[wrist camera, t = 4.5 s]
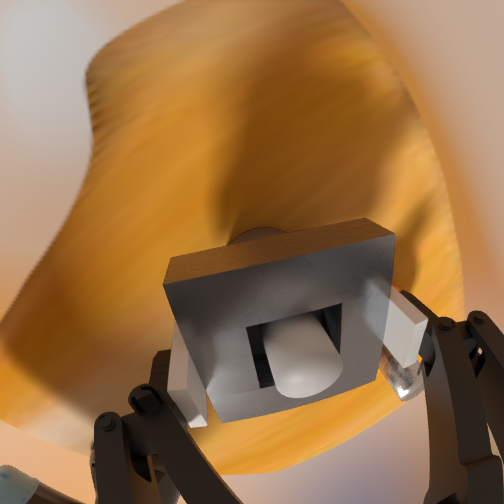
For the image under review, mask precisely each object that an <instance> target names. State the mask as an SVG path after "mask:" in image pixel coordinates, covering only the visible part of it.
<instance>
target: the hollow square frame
mask: <svg viewBox="0 0 504 504" xmlns="http://www.w3.org/2000/svg"><path fill="white" fill-rule="evenodd" d="M394 248H395V233H393V232H391V231H389V230H388V229H386V228H384V227H382V226H380V225H378V224H376V223H375V222H373V221H371V220H369V219H367V218H362V219H357V220H352V221H346V222H341V223H336V224H331V225H326V226H321V227H316V228H311V229H306V230H301V231H296V232H291V233H286V234H281V235H276V236H271V237H266V238H261V239H257V240H252V241H247V242H242V243H237V244H233V245H228V246H223V247H218V248H213V249H209V250H204V251H199V252H195V253H190V254H185V255H181V256H176V257H171V258H170V262H169V265H168V268H167V271H166V275H165V278H164V282H163V287H164V290H165V293H166V295H167V298H168V301H169V304H170V306H171V309H172V312H173V315H174V317H175V320H176V322H177V325H178V328H179V330H180V333H181V335H182V338H183V340H184V343H185V345H186V347H187V350H188V351H189V354H190V356H191V358H192V361H193V363H194V365H195V368H196V370H197V372H198V374H199V377H200V379H201V381H202V383H203V385H204V388H205V390H206V392H207V395H208V397H209V399H210V401H211V403H212V405H213V407H214V409H215V411H216V413H217V415H218V417H219V419H220V421H221V423H225V422H231V421H237V420H243V419H248V418H253V417H258V416H263V415H267V414H272V413H276V412H280V411H284V410H288V409H292V408H296V407H299V406H303V405H306V404H310V403H313V402H316V401H320V400H323V399H326V398H329V397H332V396H335V395H338V394H341V393H344V392H346V391H349V390H352V389H355V388H357V387H360V386H362V385H365V384H367V383H370V382H372V381H375V378H376V374H377V370H378V366H379V361H380V356H381V351H382V346H383V340H384V334H385V328H386V322H387V316H388V308H389V301H390V295H391V286H392V276H393V264H394ZM321 308H322V324H323V328H324V330H325V332H326V333H327V335H328V337H329V338H330V340H331V342H332V343H333V345H334V347H335V348H336V350H337V352H338V353H339V355H340V357H341V358H342V360H343V369H342V372H341V374H340V376H339V377H338V379H337V380H336V381H335V382H334V383H333V384H332V385H331V386H329V387H328V388H327V389H325V390H323V391H321V392H319V393H317V394H315V395H312V396H308V397H303V398H291V397H287V396H284V395H282V394H281V393H280V392H279V391H278V390H277V388H276V385H275V381H274V378H273V375H272V371H271V368H270V365H269V361H268V358H267V354H266V353H265V354H261V355H256V356H252V352H251V348H250V343H249V339H248V335H247V330H246V327H248V326H253V325H257V324H262V323H266V322H270V321H275V320H279V319H283V318H287V317H291V316H295V315H299V314H303V313H307V312H310V311H314V310H318V309H321Z"/></svg>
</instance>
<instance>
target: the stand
mask: <svg viewBox="0 0 504 504" xmlns="http://www.w3.org/2000/svg"><path fill="white" fill-rule="evenodd" d="M281 234H286V232H284V231H282V230H279V229H275V228H256V229H252V230H249V231H247V232H244V233H243V234H241V235H239V236H238V237H237V238H235V239H234V240H233V241H232V242H231V243H230V244H229V245H233V244H237V243H242V242H247V241H252V240H257V239H261V238H266V237H271V236H276V235H281ZM246 330H247V335H248V339H249V343H250V348H251V352H252V356H256V355H261V354H265V353H266V354H267V358H268V361H269V365H270V368H271V371H272V375H273V378H274V381H275V385H276V388H277V390H278V391H279V392H280V393H281V394H282V395H284V396H287V397H291V398H303V397H308V396H312V395H315V394H317V393H319V392H321V391H323V390H325V389H327V388H328V387H329V386H331V385H332V384H333V383H334V382H335V381H336V380H337V379H338V377H339V376H340V374H341V372H342V369H343V360H342V358H341V357H340V355H339V353H338V352H337V350H336V348H335V347H334V345H333V343H332V342H331V340H330V338H329V337H328V335H327V333H326V332H325V330H324V328H323V324H322V308H321V309H318V310H314V311H310V312H307V313H303V314H299V315H295V316H291V317H287V318H283V319H279V320H275V321H270V322H266V323H262V324H257V325H253V326H248V327H246Z"/></svg>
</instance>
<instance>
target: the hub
mask: <svg viewBox="0 0 504 504" xmlns="http://www.w3.org/2000/svg"><path fill="white" fill-rule="evenodd" d="M392 286H393V287H394V288H395V289H396V290H397V291H398V292H399V291H401V290H400V289H399V288H398V287H397V286H396V285H394V284H393V283H392ZM419 366H420V363H419V362H418V360H417V359H416V363H414V364H412V365H410V366H408V367H406V368H402V366H401V365H400V364H399V362H398V361H397V360H396V359H395V357H394V356H393V355H392V353H391V352H390V351H389V350H388V348H387V347H386V346H385V345H384V343H383V346H382V351H381V356H380V361H379V366H378V368H379V369H380V371H381V372H382V374H383V375H384V376H385V378H386V379H387V381H388V382H389V384H390V385H391V387H392V388H393V390H394V391H395V392H396V394H397V395H398V397H399V398H400V400H401V401H408V400H410V399H412V398H414V397H415V396H417V395H418V394H419V393H420V392H422V391H423V390H424V382H423V376H422V370H421V372H420V374H419V376H417V372H418V369H419Z"/></svg>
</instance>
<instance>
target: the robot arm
mask: <svg viewBox="0 0 504 504" xmlns="http://www.w3.org/2000/svg"><path fill="white" fill-rule="evenodd" d="M383 343H384V345H385V346H386V347H387V348H388V350H389V351H390V352H391V353H392V355H393V356H394V357H395V359H396V360H397V361H398V362H399V364H400V365H401V366H402V368H406V367H408V366H410V365H412V364H414V363H416V359H417V356H418V354H419V355H420V356H421V357H422V361H421V364H420V366H419V369H418V372H417V376H419V374H420V372H421V370H422V376H423V382H424V389H425V397H426V405H427V415H428V426H429V446H430V483H429V489H428V491H427V493H426V495H425V499H424V503H423V504H504V485H503V469H502V461H501V458H502V460H503V464H504V335H503V333H502V332H501V331H500V330H499V328H498V327H497V326H496V325H495V324H494V322H493V321H492V320H491V319H490V318H489V316H487V314H485V313H484V312H482V311H472V312H470V313H469V315H468V318H467V320H466V321H461V322H455V321H454V320H453V319H451V318H448V317H438V316H437V315H435V314H434V313H433V312H432V311H431V310H430V309H429V308H428V307H426V306H425V305H424V304H422V302H421V301H419V300H418V299H417V298H416V297H415V296H414V295H412V294H411V293H409V292H406V291H404V290H402V291H399V292H398V291H397V290H396V289H395V288H394V287H393V286H391V295H390V301H389V308H388V316H387V322H386V328H385V334H384V340H383ZM479 348H481V350H482V354H479V352H478V350H479ZM128 400H129V404H130V405H131V407H132V408H133V409H134V411H135V412H134V413H132V414H128V415H125V416H122V417H120V416H119V415H118V414H117V413H114V412H106V413H103V414H101V415H100V416H99V417H98V418H97V419H96V421H95V425H94V448H93V449H92V451H91V455H90V467H91V474H92V479H93V483H94V488H95V492H96V501H95V504H177V502H178V499H179V496H180V494H181V496H182V497H183V499H184V500H185V501H186V503H187V504H243V503H242V501H241V500H240V499H239V498H238V497H237V496H236V495H235V493H234V492H233V491H232V490H231V489H230V488H229V486H228V485H227V484H226V483H225V482H224V480H223V479H222V478H221V477H220V475H219V474H218V473H217V471H216V470H215V469H214V468H213V466H212V465H211V464H210V462H209V461H208V460H207V458H206V457H205V456H204V454H203V453H202V451H201V450H200V449H199V447H198V446H197V444H196V443H195V441H194V440H193V438H192V437H191V436H190V434H189V433H188V431H187V423H188V424H189V426H190V427H191V428H193V427H202V426H208V419H207V402H206V390H205V388H204V385H203V383H202V381H201V379H200V377H199V374H198V372H197V370H196V368H195V365H194V363H193V361H192V358H191V356H190V354H189V351H188V350H187V347H186V345H185V343H184V340H183V338H182V335H181V333H180V330H179V328H178V325H177V322H176V320H175V326H174V334H173V341H172V349H170V350H163V351H158V353H157V354H156V356H155V357H154V358H153V363H152V369H151V375H150V380H149V384H142V385H139V386H137V387H136V388H134V389H133V390H132V392H131V393H130V395H129V398H128ZM487 423H488V426H489V428H490V430H491V432H492V435H493V437H494V440H495V442H496V445H497V447H498V450H499V452H500V455H501V458H500V457H499V456H496V455H493V454H492V451H491V445H490V438H489V432H488V426H487ZM155 453H157V455H155ZM0 504H85V503H83V502H80V501H78V500H76V499H73V498H71V497H69V496H67V495H65V494H63V493H61V492H59V491H56V490H55V489H53V488H50V487H49V486H47V485H45V484H43V483H41V482H40V481H39V480H37V479H36V478H32V477H30V476H28V475H27V474H25V473H23V472H22V471H20V470H18V469H16V468H15V467H13V466H10V465H2V466H1V467H0Z"/></svg>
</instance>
